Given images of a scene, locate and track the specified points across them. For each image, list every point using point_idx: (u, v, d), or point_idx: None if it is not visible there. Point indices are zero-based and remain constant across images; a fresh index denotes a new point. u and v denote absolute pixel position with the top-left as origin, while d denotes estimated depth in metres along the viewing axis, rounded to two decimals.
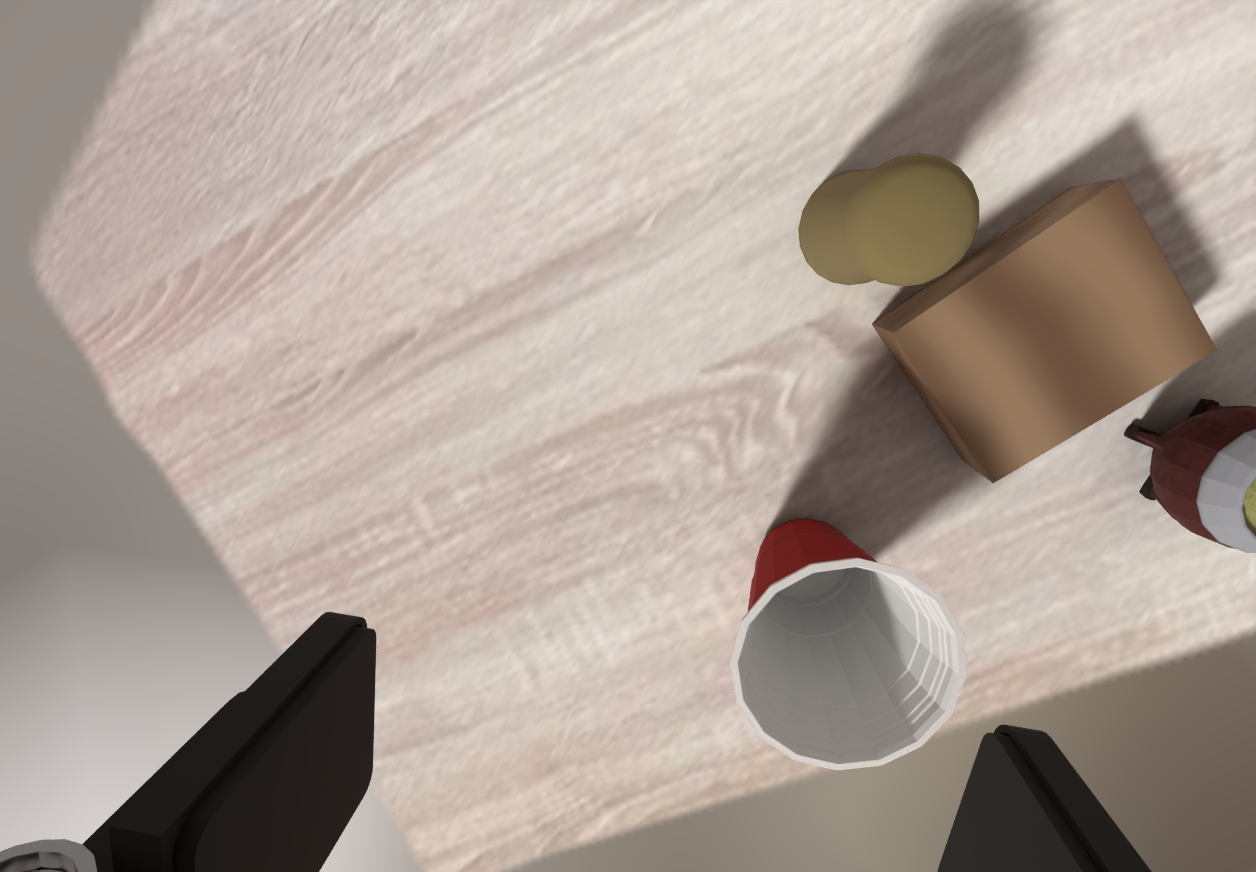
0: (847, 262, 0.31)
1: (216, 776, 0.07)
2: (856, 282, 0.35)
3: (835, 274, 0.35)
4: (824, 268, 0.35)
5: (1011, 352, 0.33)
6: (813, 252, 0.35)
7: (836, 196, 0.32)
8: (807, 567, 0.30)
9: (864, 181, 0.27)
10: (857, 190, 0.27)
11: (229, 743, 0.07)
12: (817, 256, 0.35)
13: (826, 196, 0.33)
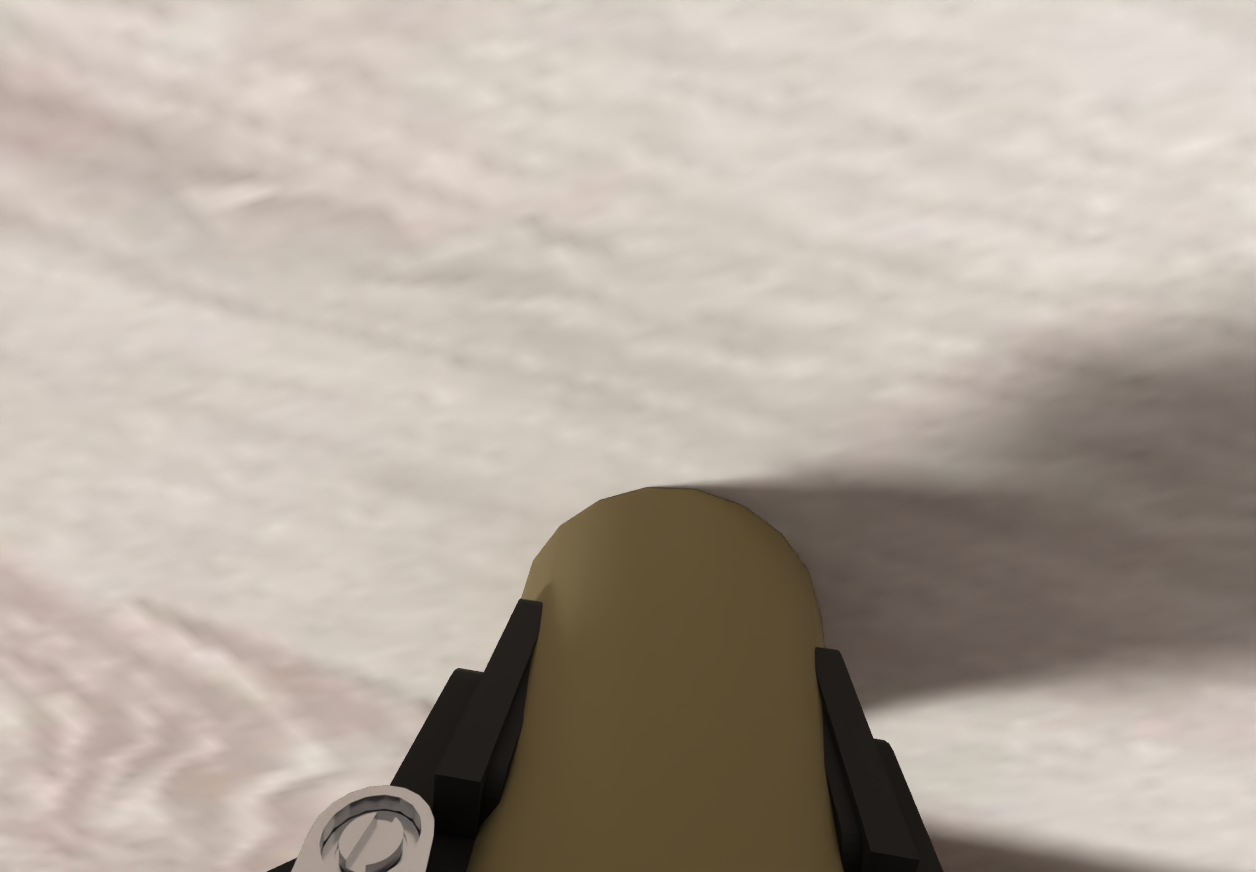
0: None
1: (498, 734, 0.08)
2: None
3: None
4: None
5: None
6: None
7: (622, 649, 0.08)
8: None
9: None
10: None
11: (496, 708, 0.08)
12: None
13: (629, 577, 0.10)
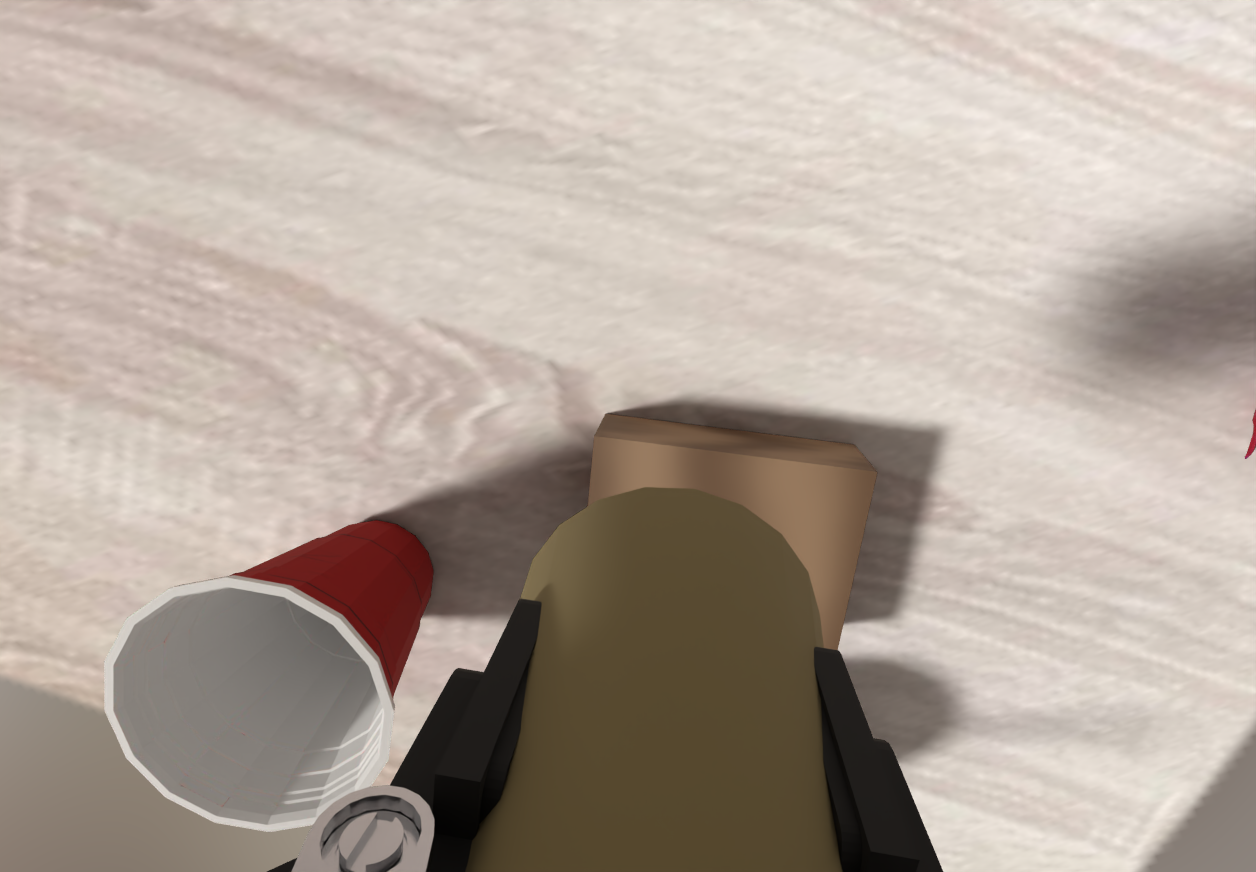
0: None
1: (498, 734, 0.08)
2: None
3: None
4: None
5: None
6: None
7: (621, 647, 0.08)
8: (281, 587, 0.23)
9: None
10: None
11: (496, 708, 0.08)
12: None
13: (628, 576, 0.10)
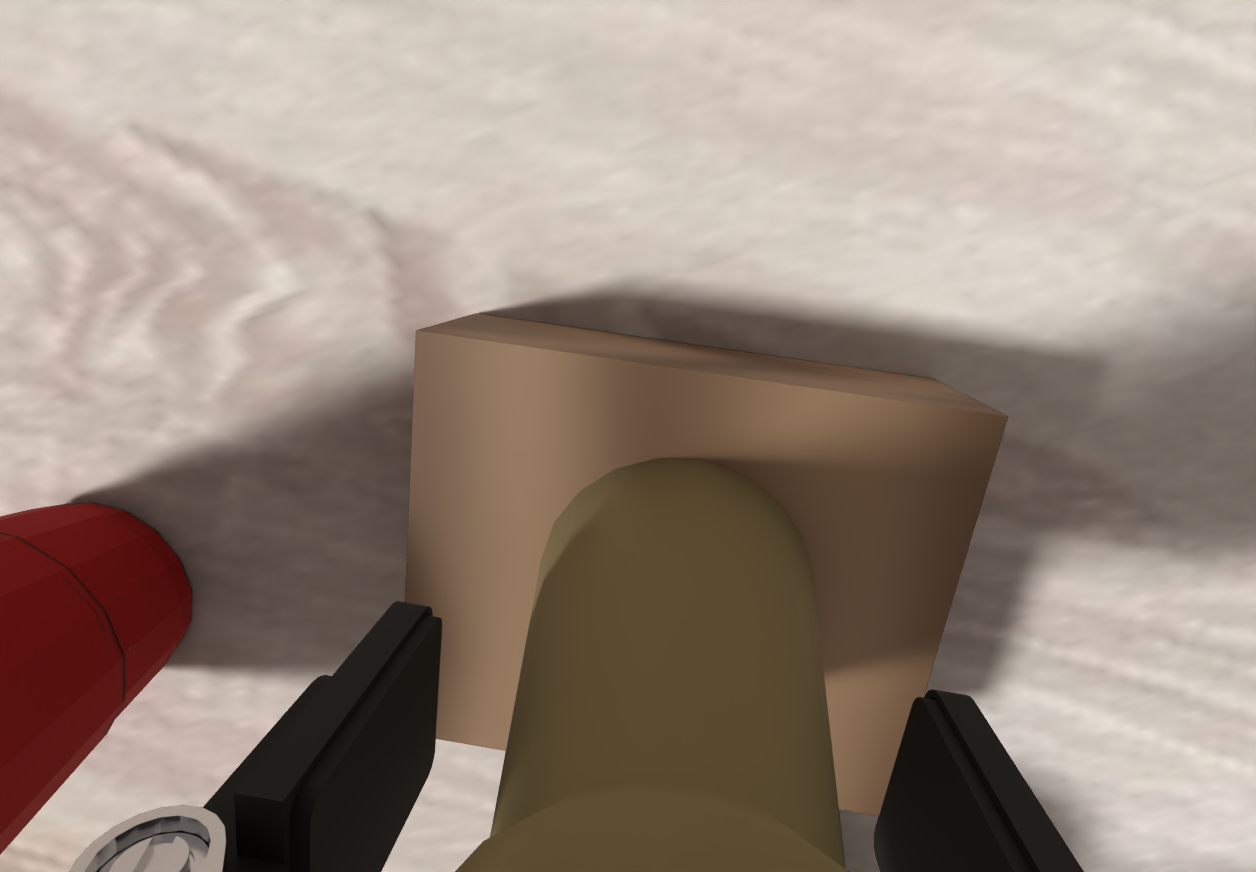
0: None
1: (322, 749, 0.07)
2: None
3: None
4: None
5: None
6: (539, 586, 0.13)
7: (642, 584, 0.10)
8: None
9: None
10: None
11: (328, 720, 0.08)
12: (533, 605, 0.13)
13: (645, 530, 0.11)
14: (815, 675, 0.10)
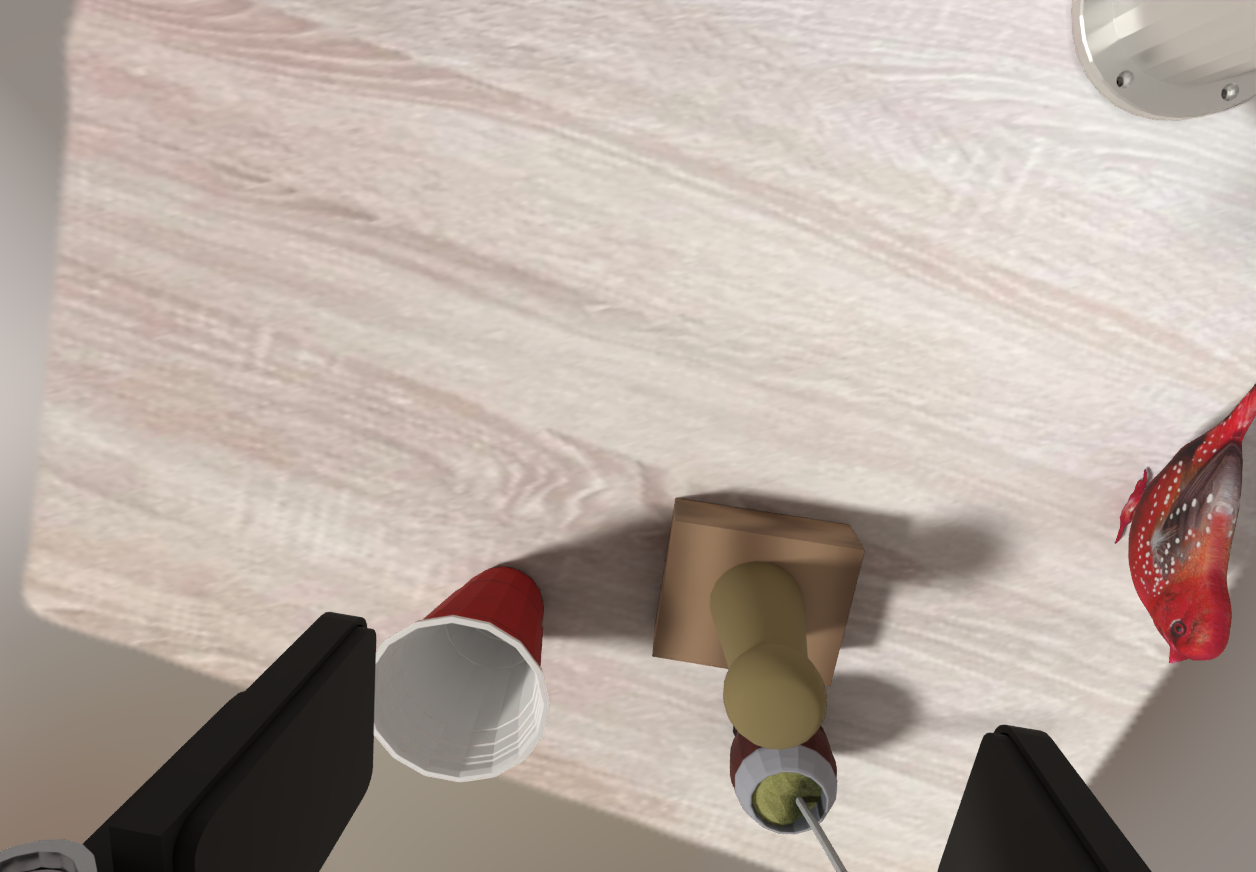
0: (725, 654, 0.37)
1: (216, 775, 0.07)
2: None
3: None
4: (714, 618, 0.41)
5: None
6: (717, 604, 0.41)
7: (758, 604, 0.38)
8: (485, 623, 0.36)
9: (772, 656, 0.33)
10: (764, 656, 0.33)
11: (228, 743, 0.07)
12: (717, 610, 0.41)
13: (755, 588, 0.39)
14: (802, 628, 0.38)
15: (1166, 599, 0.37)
